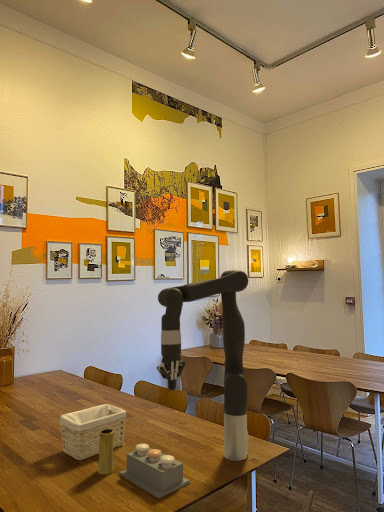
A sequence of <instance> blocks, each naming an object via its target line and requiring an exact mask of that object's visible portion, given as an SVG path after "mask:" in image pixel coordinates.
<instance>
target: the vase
mask: <svg viewBox="0 0 384 512" xmlns="http://www.w3.org/2000/svg"><path fill="white" fill-rule="evenodd" d="M114 449H115V448H114V430H113V429H103V430H101V431H100V436H99V454H98V461H97V474H99V475H100V476H101V475H102V476H107V474H108V475H111V474H113V472H115V465H114V460H115V459H114V455H115V454H114ZM110 473H111V474H110Z"/></svg>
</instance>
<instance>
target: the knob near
mask: <svg viewBox="0 0 384 512" xmlns="http://www.w3.org/2000/svg"><path fill="white" fill-rule="evenodd" d="M174 459H175V457H174V456H173V455H168V454H165V456H162V457H161V458H160V462H161V463H162V467H163V468H165V469H168V468H171V467H172V463H174Z"/></svg>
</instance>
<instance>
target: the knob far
mask: <svg viewBox="0 0 384 512" xmlns="http://www.w3.org/2000/svg"><path fill="white" fill-rule="evenodd" d="M149 447H150V445H149V444H147V443H138V444H136V445H135V451H137V454H138V455H140V456H143V455H145V454H147V450H149Z"/></svg>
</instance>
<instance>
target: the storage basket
mask: <svg viewBox="0 0 384 512" xmlns="http://www.w3.org/2000/svg"><path fill="white" fill-rule="evenodd" d="M111 413H112V414H111ZM126 417H127V412H126V410H124V409H123V408H121V407H117V406H115V405H113V404H109V403H105V404H101V405H95V406H92V407H88V408H85V409H81V410H78V411H73V412H69V413H64V414H61V415H60V416H59V425H60V427H61V428H60V430H61V443H62V444H61V445H62V452H64V453H65V454H67V455H68V456H70V457H72V458H74V459H75V460H77V461H83V459H84V460H86V458H87V459H89V458H91V457H93V456H97V455H99V436H100V431H101V430H103V429H113V430H114V449H115V448H118V447H120V446H123V445H124V440H125V430H126V429H125V427H126Z"/></svg>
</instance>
